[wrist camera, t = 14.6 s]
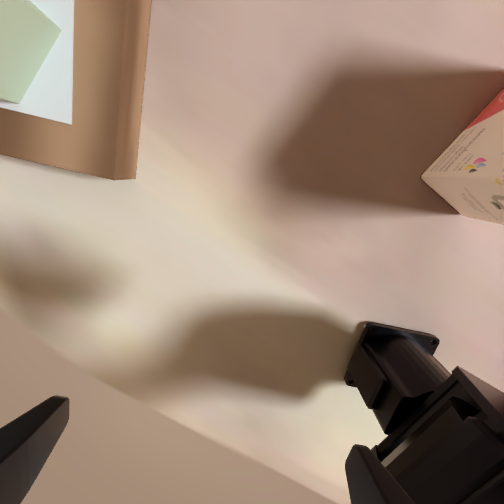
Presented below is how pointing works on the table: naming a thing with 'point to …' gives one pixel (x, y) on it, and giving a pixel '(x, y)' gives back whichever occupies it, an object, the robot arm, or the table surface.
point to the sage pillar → (22, 46)
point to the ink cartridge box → (474, 167)
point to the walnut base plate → (84, 91)
